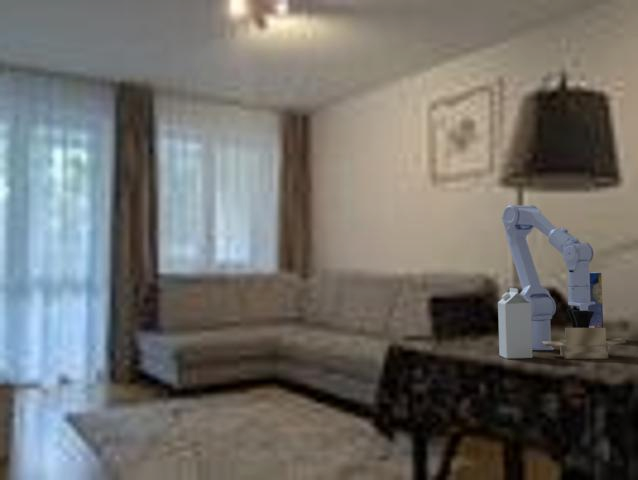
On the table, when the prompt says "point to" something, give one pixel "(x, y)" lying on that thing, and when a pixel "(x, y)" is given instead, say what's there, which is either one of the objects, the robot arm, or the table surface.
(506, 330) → the milk carton
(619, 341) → the flap
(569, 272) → the robot arm
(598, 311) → the beverage box
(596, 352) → the carton
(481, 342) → the table surface
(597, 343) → the flap
